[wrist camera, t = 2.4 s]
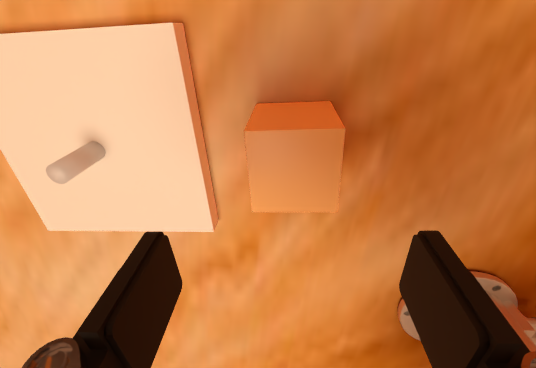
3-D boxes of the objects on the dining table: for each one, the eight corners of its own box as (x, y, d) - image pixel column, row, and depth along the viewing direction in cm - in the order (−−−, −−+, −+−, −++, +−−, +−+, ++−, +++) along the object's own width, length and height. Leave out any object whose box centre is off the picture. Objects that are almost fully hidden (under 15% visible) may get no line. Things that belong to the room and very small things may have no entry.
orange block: (330, 100, 22) (345, 128, 16) (326, 167, 25) (337, 212, 19) (256, 103, 22) (243, 131, 16) (261, 168, 25) (251, 212, 19)
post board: (182, 23, 20) (140, 20, 14) (218, 219, 29) (200, 265, 23) (-36, 37, 21) (-153, 40, 16) (62, 219, 30) (9, 262, 25)
